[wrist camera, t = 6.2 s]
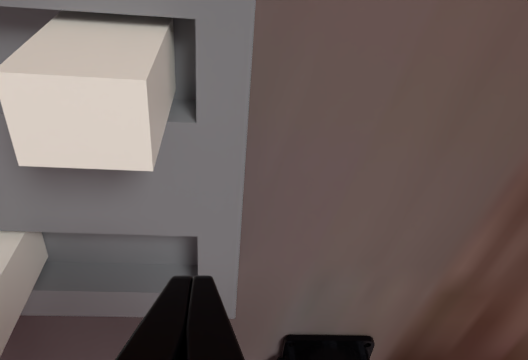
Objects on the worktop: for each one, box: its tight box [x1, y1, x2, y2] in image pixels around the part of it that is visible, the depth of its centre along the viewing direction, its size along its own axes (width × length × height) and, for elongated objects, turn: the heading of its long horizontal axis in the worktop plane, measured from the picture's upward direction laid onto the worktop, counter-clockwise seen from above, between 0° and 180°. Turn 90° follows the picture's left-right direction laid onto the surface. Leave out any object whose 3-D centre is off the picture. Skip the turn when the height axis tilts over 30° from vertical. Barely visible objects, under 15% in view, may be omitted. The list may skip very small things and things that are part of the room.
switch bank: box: [0, 0, 256, 319], centre depth 20 cm, size 18×18×5 cm
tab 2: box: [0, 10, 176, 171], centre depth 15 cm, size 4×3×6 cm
